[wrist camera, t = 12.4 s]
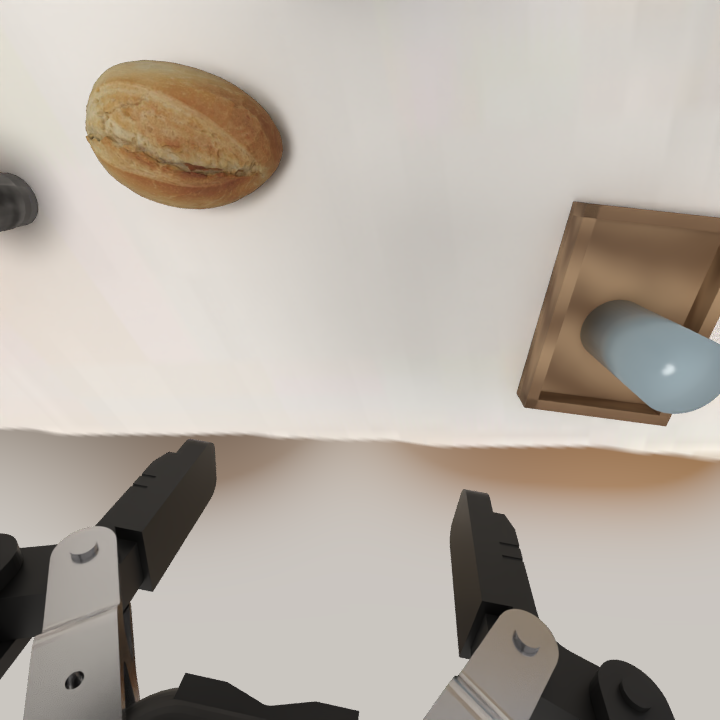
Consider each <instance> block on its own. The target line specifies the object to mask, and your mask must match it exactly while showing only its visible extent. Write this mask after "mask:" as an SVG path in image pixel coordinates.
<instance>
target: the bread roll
mask: <svg viewBox="0 0 720 720" xmlns="http://www.w3.org/2000/svg"><path fill="white" fill-rule="evenodd" d="M86 108H87V109H86V113H87V114H86V122H85V123H86V131H87V134H88V136H86V138H87V141H88V142H89V143H90V145H91V148H92V149H93V151H94V153H95V155H96V156H97V158H98V160H99V161H100V163H101V164H102V165H103V167H104V168H105V169H106V170H107V171H108V173H109V174H110V175H111V176H113V177H114V178H115V179H116V180H117V181H119V182H120V183H121V184H123V185H124V186H126V187H127V188H129V189H130V190H132V191H133V192H135V193H137V194H138V195H140V196H142V197H144V198H147V199H149V200H152V201H155V202H158V203H161V204H165V205H168V206H173V207H178V208H188V209H206V208H214V207H218V206H223V205H226V204H229V203H232V202H235V201H237V200H239V199H241V198H242V197H244V196H246V195H248V194H250V193H252V192H253V191H255V190H256V189H257V188H259V187H260V186H261V185H262V184H263V183H264V182H265V181H266V180H268V179H269V178H270V177H271V176H272V174H273V173H274V172H275V170H276V169H277V167H278V165H279V162H280V160H281V157H282V152H283V146H282V140H281V136H280V133H279V131H278V129H277V127H276V126H275V124H274V122H273V121H272V119H271V117H270V116H269V114H268V113H267V112H266V111H265V109H264V108H263V107H262V106H261V105H260V104H259V103H257V102H256V101H255V100H254V99H253V98H252V97H250V96H249V95H248V94H247V93H245V92H244V91H243V90H241V89H240V88H238V87H237V86H235V85H233V84H232V83H230V82H228V81H226V80H224V79H222V78H220V77H218V76H215V75H213V74H210V73H207V72H205V71H202V70H199V69H197V68H193V67H189V66H185V65H181V64H177V63H171V62H163V61H153V60H140V61H132V62H125V63H120V64H118V65H115V66H112V67H111V68H109V69H108V70H106V71H105V72H104V73H103V74H102V75H101V76H100V77H99V78H98V80H97V81H96V82H95V84H94V86H93V89H92V91H91V93H90V96H89V100H88V104H87V106H86Z"/></svg>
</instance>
